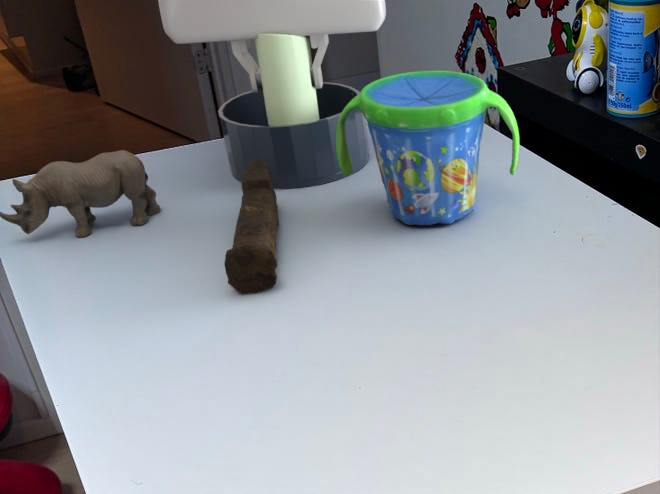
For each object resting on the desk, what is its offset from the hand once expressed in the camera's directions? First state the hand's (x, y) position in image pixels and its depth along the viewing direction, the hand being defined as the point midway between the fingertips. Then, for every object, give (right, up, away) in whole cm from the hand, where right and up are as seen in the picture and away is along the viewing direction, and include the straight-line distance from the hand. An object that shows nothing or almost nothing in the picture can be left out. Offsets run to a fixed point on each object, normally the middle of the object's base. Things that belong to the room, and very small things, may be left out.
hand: (287, 89), depth 97 cm
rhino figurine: (-17, -15, -5) cm, 24 cm away
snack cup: (+14, -15, -7) cm, 22 cm away
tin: (0, -5, +5) cm, 7 cm away
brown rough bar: (-1, -19, -10) cm, 22 cm away
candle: (0, -2, +2) cm, 3 cm away
